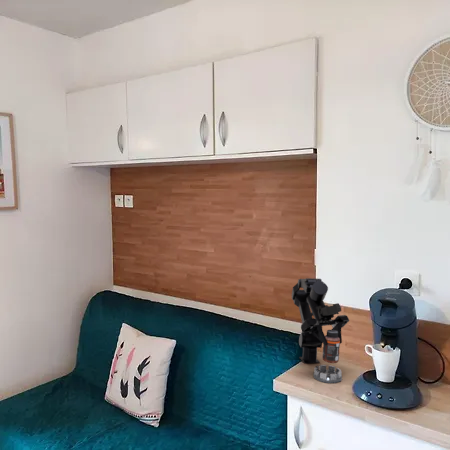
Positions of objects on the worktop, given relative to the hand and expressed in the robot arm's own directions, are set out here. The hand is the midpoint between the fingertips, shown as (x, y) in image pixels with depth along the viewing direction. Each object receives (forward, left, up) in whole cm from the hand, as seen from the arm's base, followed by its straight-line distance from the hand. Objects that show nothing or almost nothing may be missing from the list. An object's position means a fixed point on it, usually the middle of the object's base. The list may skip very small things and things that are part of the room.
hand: (333, 344), depth 167 cm
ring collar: (-2, -1, -13) cm, 13 cm away
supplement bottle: (-1, 0, -7) cm, 7 cm away
